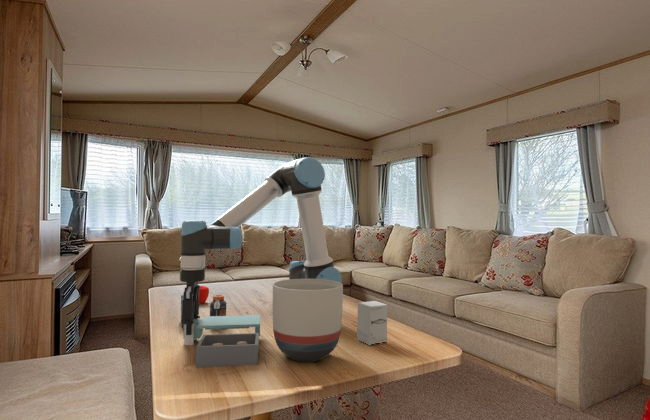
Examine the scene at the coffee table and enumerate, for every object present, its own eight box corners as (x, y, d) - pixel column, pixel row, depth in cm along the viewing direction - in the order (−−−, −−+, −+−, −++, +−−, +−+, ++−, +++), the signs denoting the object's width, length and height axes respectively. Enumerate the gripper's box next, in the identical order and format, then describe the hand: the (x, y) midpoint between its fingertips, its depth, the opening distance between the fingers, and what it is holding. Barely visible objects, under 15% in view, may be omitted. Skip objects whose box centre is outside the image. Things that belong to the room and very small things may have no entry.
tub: (258, 353, 113) (258, 333, 113) (257, 367, 102) (257, 344, 102) (203, 355, 110) (203, 334, 111) (195, 370, 99) (196, 347, 100)
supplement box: (368, 346, 120) (369, 306, 121) (356, 339, 127) (357, 301, 127) (387, 343, 124) (388, 304, 124) (374, 336, 130) (375, 300, 131)
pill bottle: (221, 328, 138) (222, 297, 138) (206, 327, 139) (207, 296, 140) (228, 324, 144) (229, 294, 144) (214, 323, 145) (215, 293, 145)
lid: (260, 329, 129) (260, 314, 129) (259, 339, 117) (259, 324, 118) (188, 331, 125) (189, 316, 126) (180, 342, 114) (180, 326, 114)
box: (180, 322, 145) (181, 295, 146) (195, 321, 148) (196, 294, 148) (181, 328, 138) (182, 298, 138) (197, 326, 140) (198, 297, 141)
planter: (283, 376, 96) (285, 292, 96) (263, 351, 114) (264, 280, 115) (354, 365, 104) (355, 287, 105) (325, 343, 123) (325, 277, 123)
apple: (195, 300, 185) (195, 284, 185) (212, 301, 184) (212, 285, 184) (185, 304, 176) (186, 287, 176) (203, 305, 175) (204, 288, 175)
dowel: (247, 355, 108) (247, 341, 108) (246, 359, 105) (246, 344, 106) (237, 356, 108) (237, 341, 108) (236, 359, 105) (236, 344, 105)
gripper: (186, 265, 129) (184, 334, 128) (173, 272, 111) (171, 351, 111) (209, 265, 130) (207, 333, 129) (199, 272, 113) (197, 351, 112)
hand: (190, 341), depth 120 cm, fingers closed on lid, 4 cm apart
